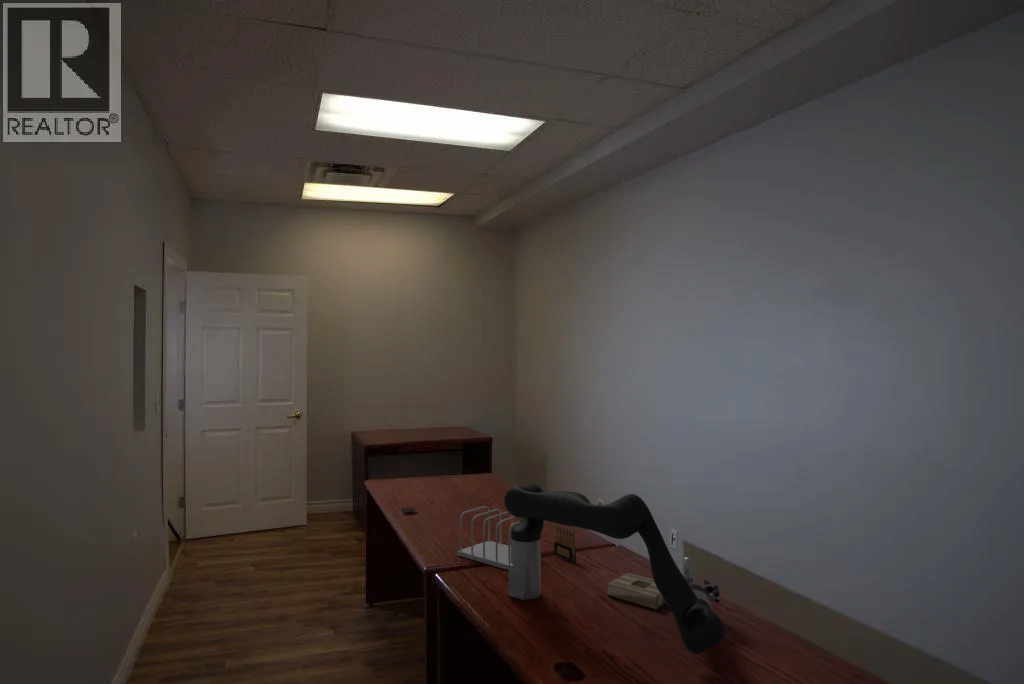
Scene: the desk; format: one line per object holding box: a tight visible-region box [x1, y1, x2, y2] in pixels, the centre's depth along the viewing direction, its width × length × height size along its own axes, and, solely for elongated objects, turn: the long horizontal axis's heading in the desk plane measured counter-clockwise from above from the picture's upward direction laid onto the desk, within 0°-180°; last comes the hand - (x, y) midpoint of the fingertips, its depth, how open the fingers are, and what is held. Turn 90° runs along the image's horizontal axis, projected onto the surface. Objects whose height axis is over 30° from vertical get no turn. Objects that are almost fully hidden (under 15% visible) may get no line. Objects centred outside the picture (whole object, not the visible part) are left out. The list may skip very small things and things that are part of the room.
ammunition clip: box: [553, 523, 577, 564], centre depth 232 cm, size 11×2×12 cm, turn 33°
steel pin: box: [683, 555, 696, 585], centre depth 189 cm, size 3×3×15 cm
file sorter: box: [456, 505, 520, 571], centre depth 233 cm, size 25×17×16 cm
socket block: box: [607, 572, 667, 611], centre depth 197 cm, size 12×16×4 cm
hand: (689, 582), depth 186 cm, fingers open, 8 cm apart
